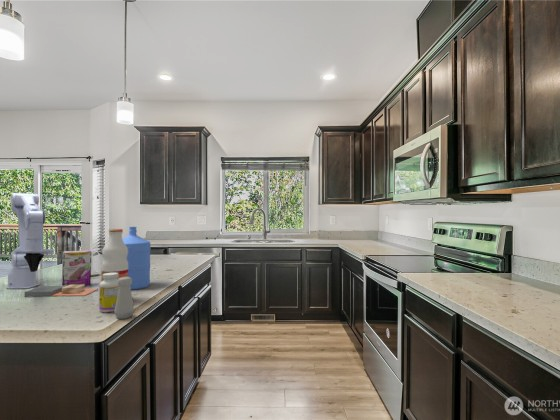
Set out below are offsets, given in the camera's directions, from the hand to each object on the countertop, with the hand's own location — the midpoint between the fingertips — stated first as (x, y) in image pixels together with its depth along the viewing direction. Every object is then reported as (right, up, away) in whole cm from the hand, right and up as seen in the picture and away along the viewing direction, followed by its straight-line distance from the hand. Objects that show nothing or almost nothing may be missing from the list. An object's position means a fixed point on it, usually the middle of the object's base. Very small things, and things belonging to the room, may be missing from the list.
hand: (33, 271), depth 131 cm
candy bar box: (+9, -10, +14) cm, 19 cm away
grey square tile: (+5, -10, +1) cm, 11 cm away
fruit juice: (+39, -10, -9) cm, 41 cm away
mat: (+17, -10, +2) cm, 19 cm away
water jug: (+35, -10, +14) cm, 39 cm away
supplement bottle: (+44, -10, -21) cm, 50 cm away
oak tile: (+16, -9, +2) cm, 18 cm away
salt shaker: (+53, -10, -29) cm, 61 cm away
